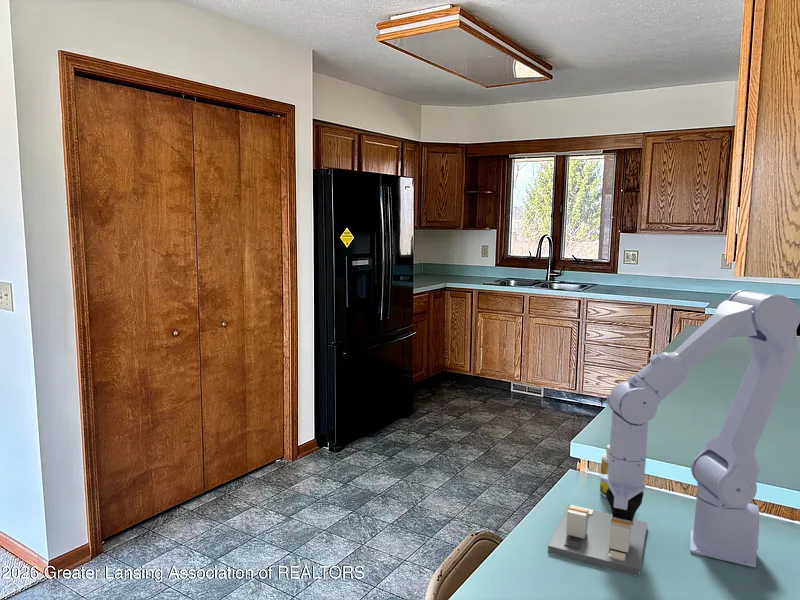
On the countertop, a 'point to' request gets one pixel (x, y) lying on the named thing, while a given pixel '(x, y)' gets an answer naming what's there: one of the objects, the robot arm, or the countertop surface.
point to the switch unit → (600, 544)
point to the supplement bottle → (604, 471)
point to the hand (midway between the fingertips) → (622, 532)
